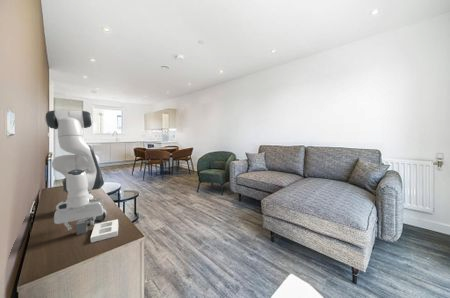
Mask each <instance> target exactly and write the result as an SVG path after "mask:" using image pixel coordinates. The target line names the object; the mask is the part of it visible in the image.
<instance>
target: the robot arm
mask: <svg viewBox="0 0 450 298" xmlns="http://www.w3.org/2000/svg"><path fill="white" fill-rule="evenodd" d="M44 122H45V123H46V125H47V127H49V128H50V129H52V130H53V129H54V130H57V140H58V145H59V147H60V148H61V150H63V151H64V152H66V153H70V154H63V155H58V156H54V158H53V159H52V161H51V167H52V169H53V170H54V171H55V172H58V173H60V174H61V175H63V177H64V178H63V179H62V186H63V190H62V191H63V192H65V193H67V199H66V200H62V201H60V202H59V203H57V204H56V205H55V212H54V214H53V215H54V216H53V221H54V222H53V223H54V224H56V225H60V224H63V225H64V226H65V227H66V229H67V231H72V230H73V225H70V224H69V223H70V222H74V221H76V222H77V221H80V220H85V219H86V220H87V219H89V218H91V217H92V218H93V221H91V222H90V223H89V224H90V226H94V225H95V223H94V221H95V219H96V216H101V215H102V214H103V212H104V211H103V208H104V206H103V205H104V200H103V199H102V198H101V197H99V198H94V196H93V195H92V193H91V191H97V190H99V189H101V188H102V187H104V185H105V179H104V175H103V174H102V171H101V168H100V161H101V160H100V157H99V156H98V155H97V154H95V151H94V149H93V147H92V146H91V145H89V144H87V142H86V141H85V136H84V135H85V134H84V129H88V128H90V127H92V126H93V122H94V119H93V116H92V115H91V113H90V112H89V111H87V110H73V109H69V110H68V109H67V110H62V109H61V110H48V111H46V113H45V116H44ZM86 170H90V172H88V173H87V172H86Z"/></svg>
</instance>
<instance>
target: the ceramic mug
mask: <svg viewBox="0 0 450 298" xmlns="http://www.w3.org/2000/svg"><path fill="white" fill-rule="evenodd" d="M103 211H104V212H103V214H102V215H101V216H96V219H95V221H94V225H95V224H98V223H103V222H105V220H106V219H107V210H106V209H105V208H104V207H103ZM86 220H87V225H89V224H90V222H91V221H93V218H92V217H91V218H87V219H86Z"/></svg>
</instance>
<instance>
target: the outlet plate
mask: <svg viewBox="0 0 450 298" xmlns="http://www.w3.org/2000/svg"><path fill="white" fill-rule="evenodd" d="M118 236H119V219H112V220H107V221H103V222H101V223H98V224H95V223H94V225H93V229H92V232H91V235H90V243H95V242H99V241H104V240H108V239H111V238H115V237H118Z"/></svg>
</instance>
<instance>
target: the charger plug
mask: <svg viewBox="0 0 450 298" xmlns="http://www.w3.org/2000/svg"><path fill="white" fill-rule="evenodd" d="M87 220H88V219H87V218H86V219H81V220H76V223H75V230H76V232H75V233H76V236H79V235H83V234H87V232H88V224H87Z"/></svg>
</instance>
